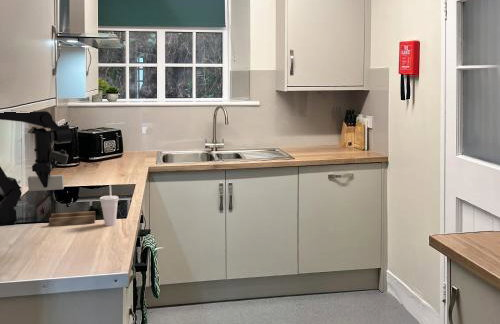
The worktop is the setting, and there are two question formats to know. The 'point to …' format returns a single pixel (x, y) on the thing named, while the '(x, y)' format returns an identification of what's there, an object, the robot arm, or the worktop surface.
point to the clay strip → (53, 183)
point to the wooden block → (72, 218)
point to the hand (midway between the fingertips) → (46, 186)
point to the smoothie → (109, 208)
